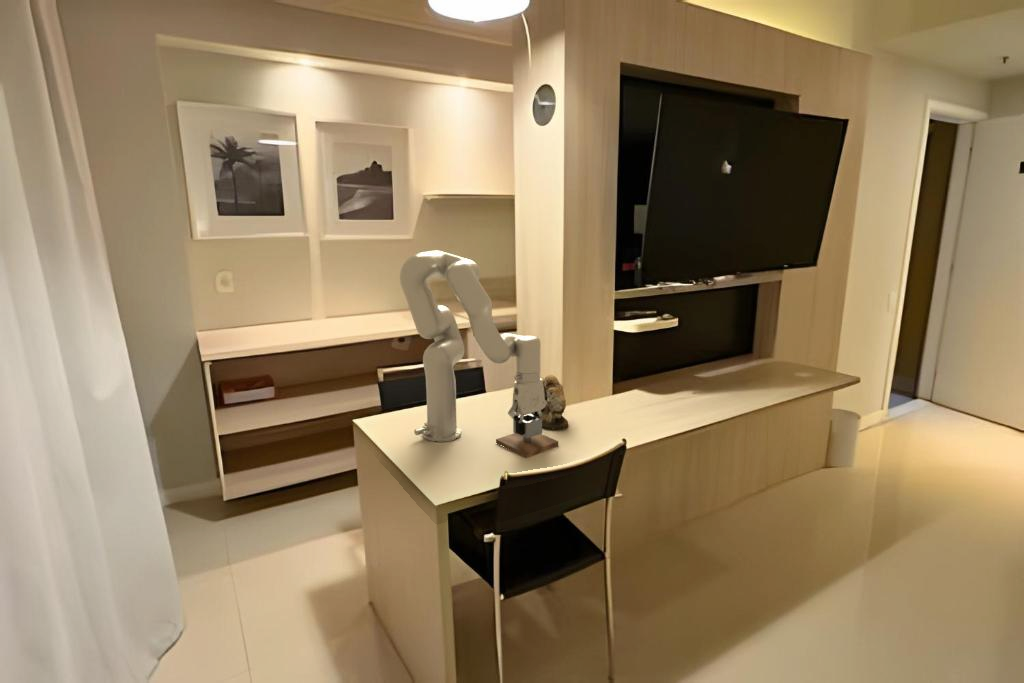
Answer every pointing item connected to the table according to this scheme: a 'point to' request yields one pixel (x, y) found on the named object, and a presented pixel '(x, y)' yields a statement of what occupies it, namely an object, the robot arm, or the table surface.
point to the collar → (530, 426)
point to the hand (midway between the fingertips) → (528, 430)
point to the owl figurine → (553, 405)
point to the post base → (527, 444)
